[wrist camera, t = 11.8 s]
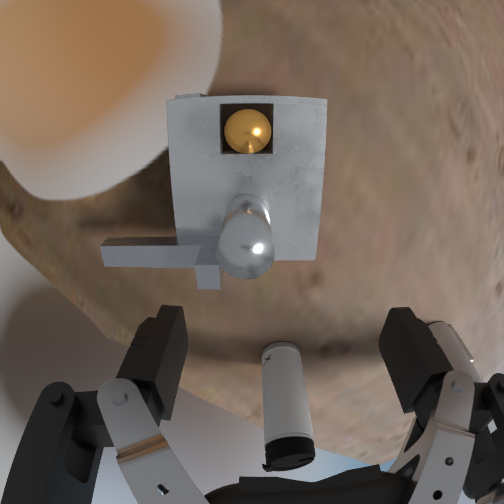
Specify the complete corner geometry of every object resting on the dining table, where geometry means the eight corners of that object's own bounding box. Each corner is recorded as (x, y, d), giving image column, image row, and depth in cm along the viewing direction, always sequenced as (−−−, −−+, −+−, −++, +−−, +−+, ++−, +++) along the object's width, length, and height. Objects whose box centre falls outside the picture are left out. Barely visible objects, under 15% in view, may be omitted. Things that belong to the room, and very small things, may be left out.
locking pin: (264, 110, 28) (271, 109, 19) (264, 140, 29) (270, 153, 20) (232, 110, 28) (224, 109, 19) (232, 140, 29) (224, 154, 20)
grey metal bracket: (313, 96, 27) (359, 88, 14) (305, 235, 34) (333, 309, 22) (116, 106, 27) (39, 114, 14) (131, 236, 34) (80, 303, 22)
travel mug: (255, 345, 43) (257, 463, 26) (296, 337, 43) (315, 455, 25) (264, 368, 46) (268, 476, 28) (302, 361, 45) (318, 469, 28)
